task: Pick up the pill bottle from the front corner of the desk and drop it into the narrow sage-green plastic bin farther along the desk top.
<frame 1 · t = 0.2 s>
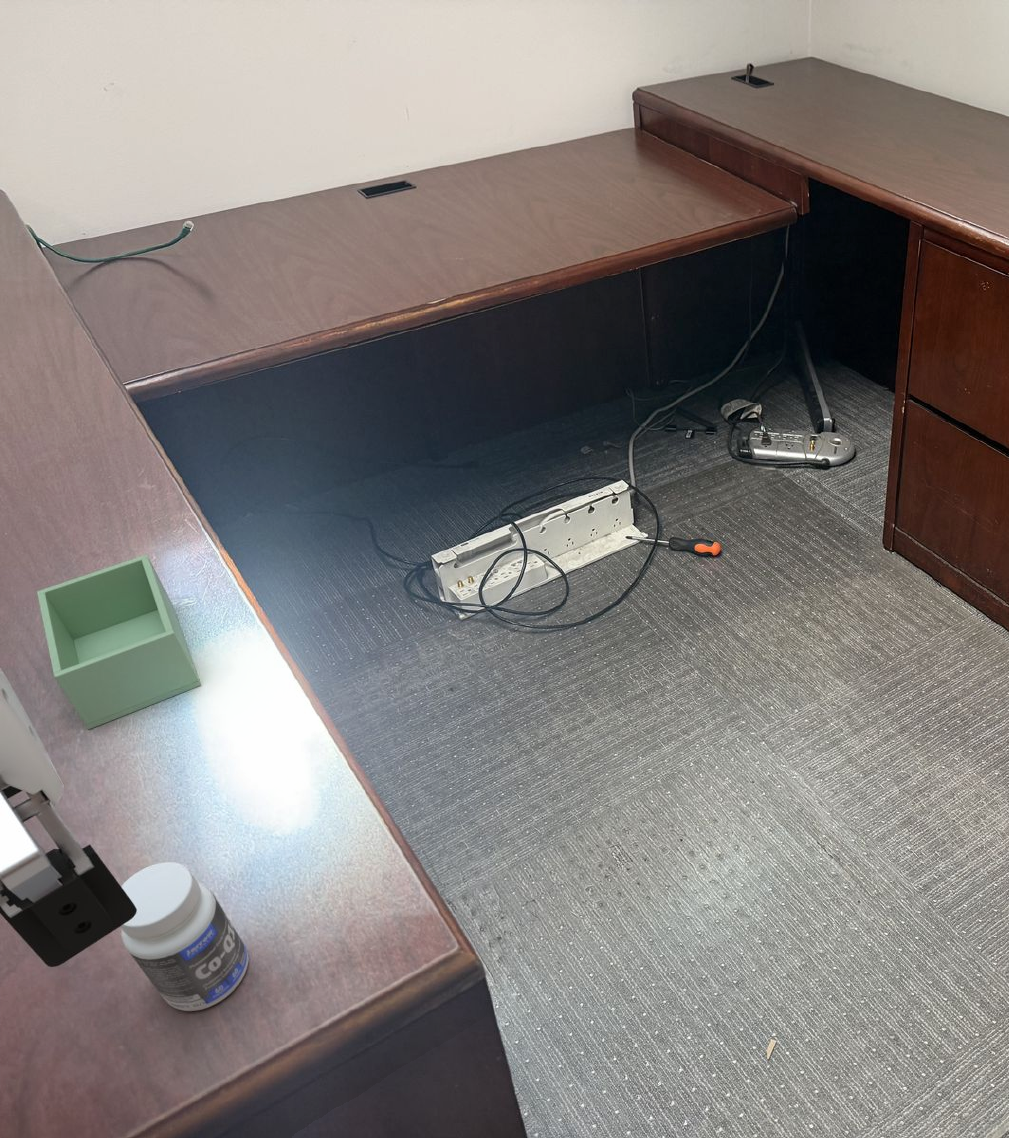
hand: (48, 860, 42), 21 cm above the table, tool pointing down, fingers open, 9 cm apart
bin: (133, 663, 80), on the table
pill bottle: (209, 975, 61), on the table
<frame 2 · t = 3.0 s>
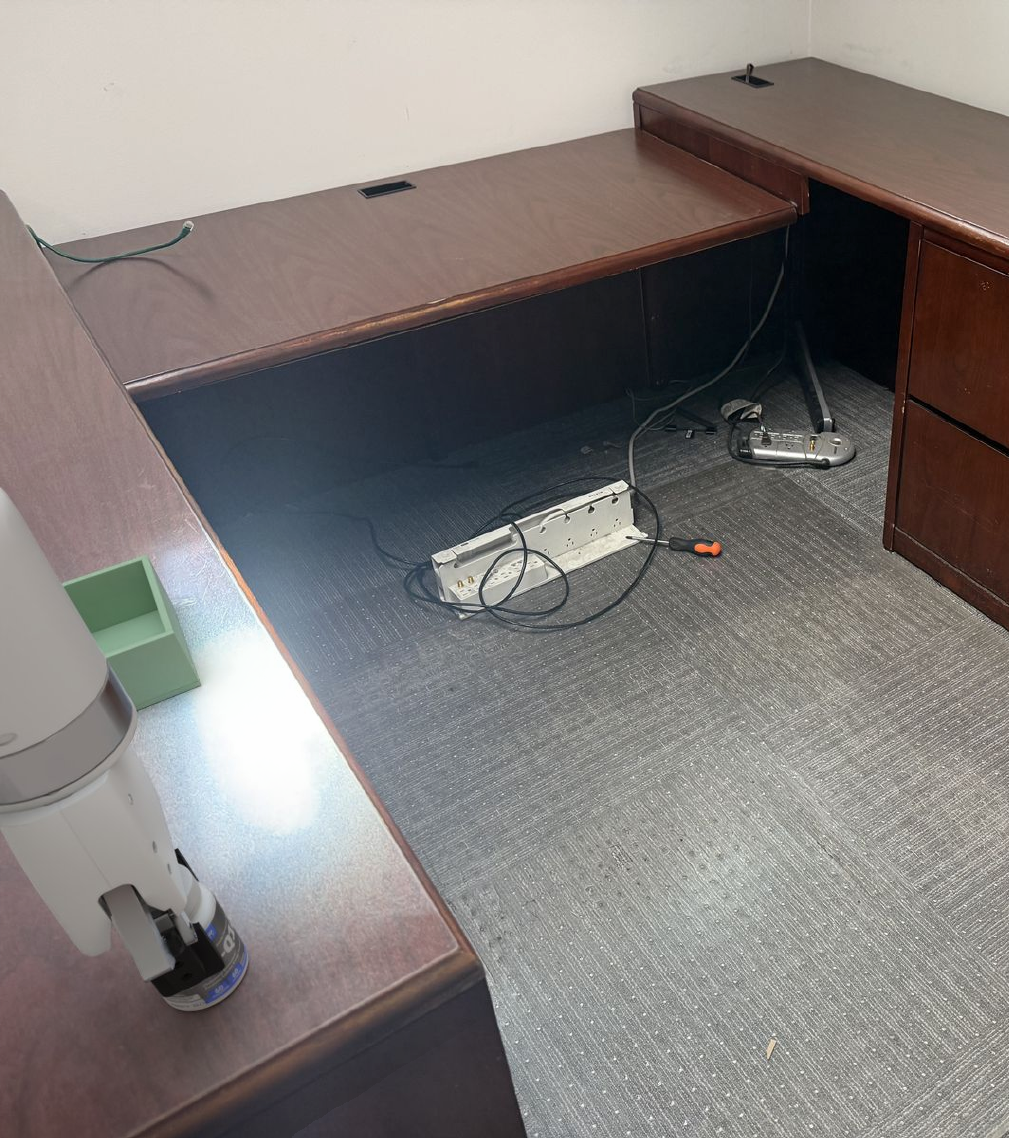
hand: (183, 939, 58), 4 cm above the table, tool pointing down, fingers closed on pill bottle, 4 cm apart
pill bottle: (209, 975, 61), on the table, touching gripper
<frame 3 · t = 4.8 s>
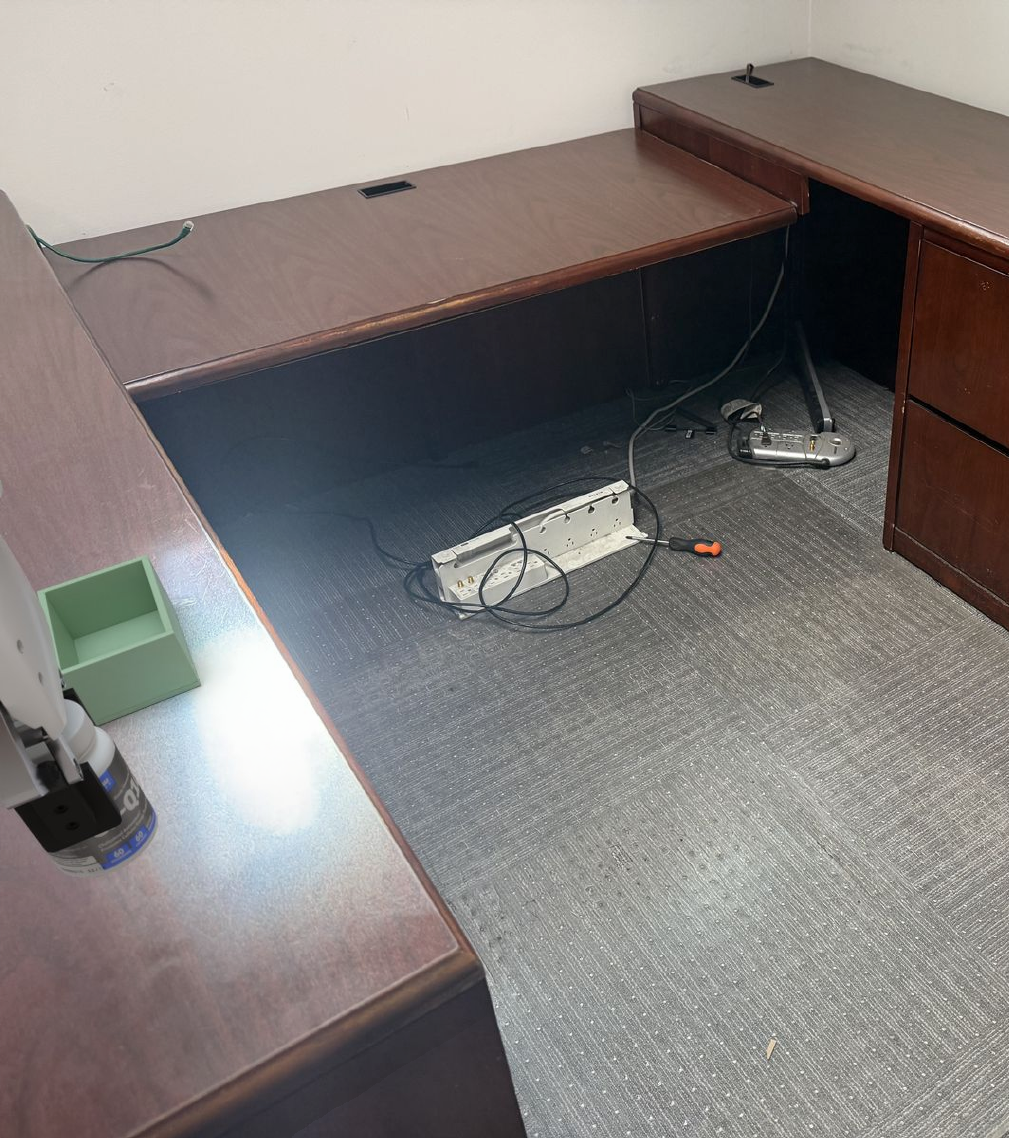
hand: (77, 793, 50), 17 cm above the table, tool pointing down, fingers closed on pill bottle, 4 cm apart
pill bottle: (111, 843, 53), point 13 cm above the table, touching gripper
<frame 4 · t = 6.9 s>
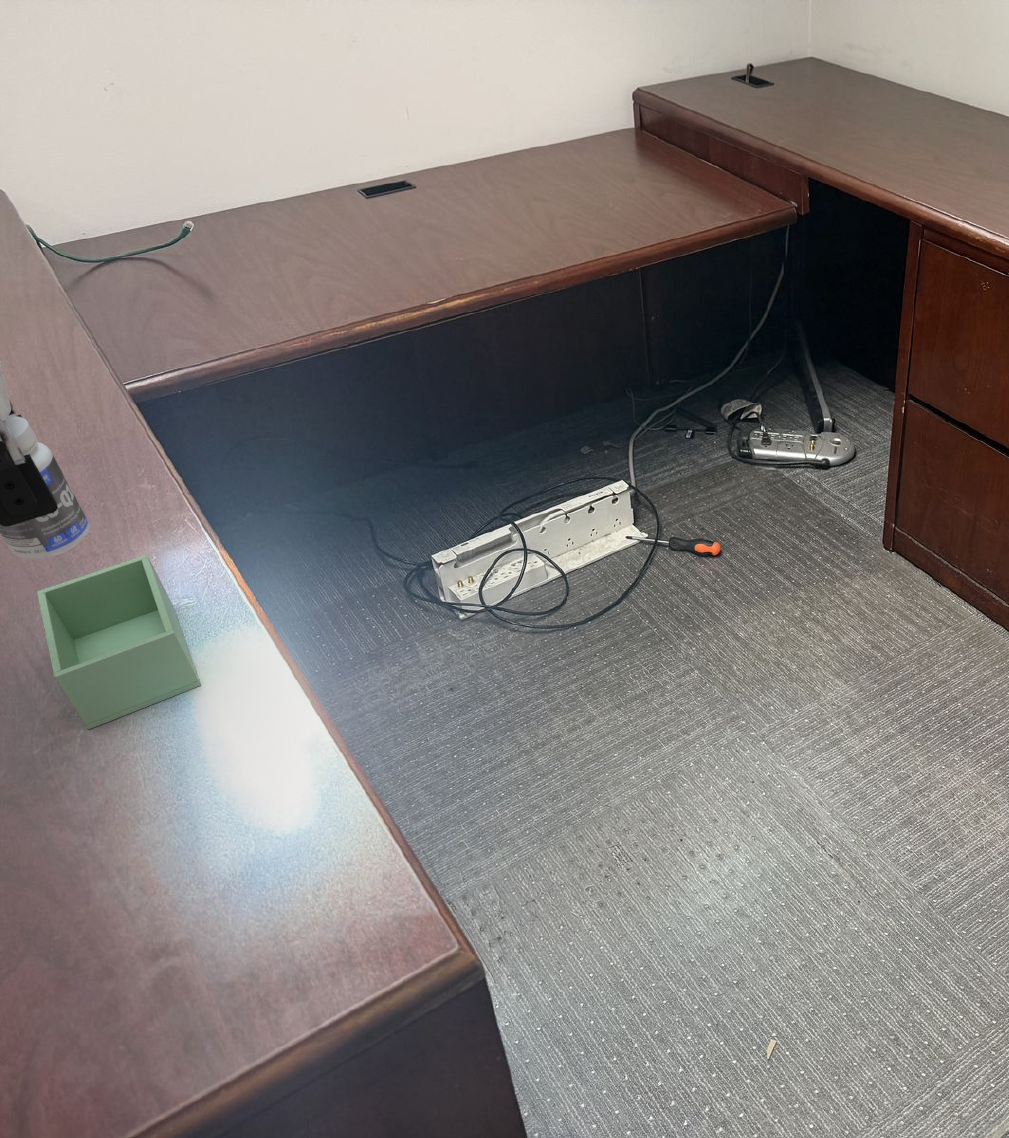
hand: (25, 493, 66), 18 cm above the table, tool pointing down, fingers closed on pill bottle, 4 cm apart
pill bottle: (54, 541, 69), point 14 cm above the table, touching gripper
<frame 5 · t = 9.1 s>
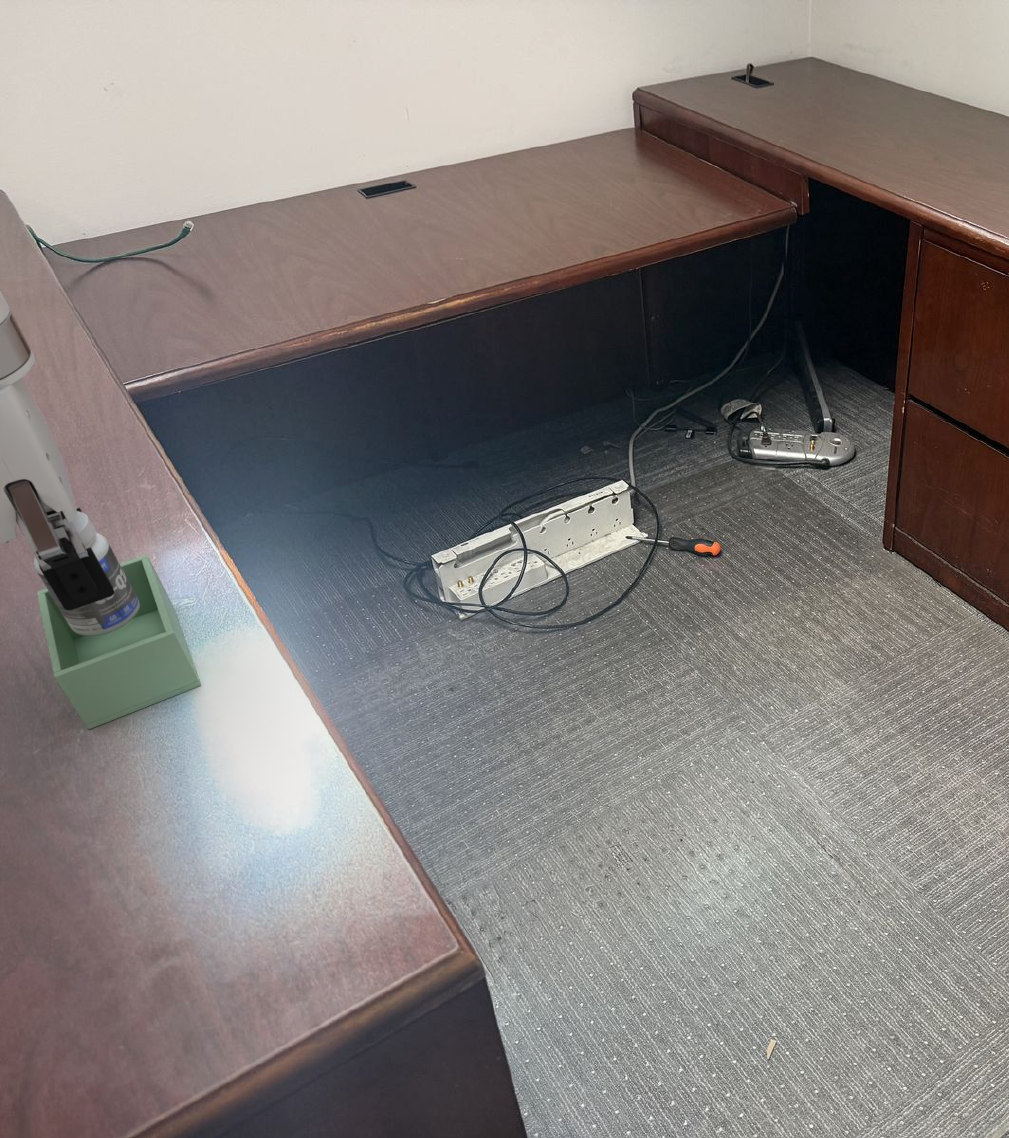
hand: (84, 578, 75), 9 cm above the table, tool pointing down, fingers closed on pill bottle, 4 cm apart
pill bottle: (108, 617, 77), point 5 cm above the table, touching gripper
when the fingers open (5 cm above the table, at t = 11.4 s): pill bottle stays where it is, resting on bin.
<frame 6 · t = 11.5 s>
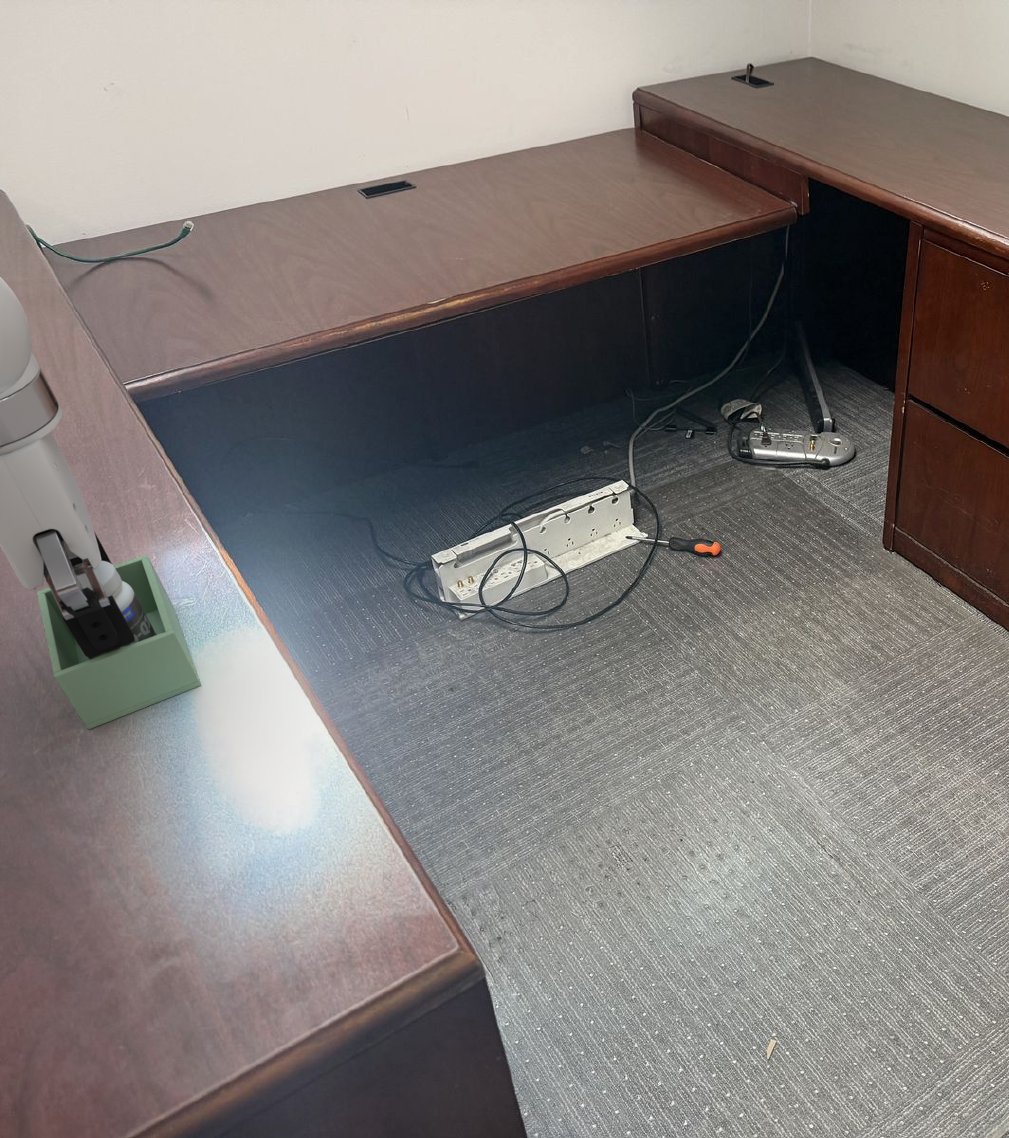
hand: (101, 611, 77), 6 cm above the table, tool pointing down, fingers open, 8 cm apart
pill bottle: (132, 661, 80), resting on bin
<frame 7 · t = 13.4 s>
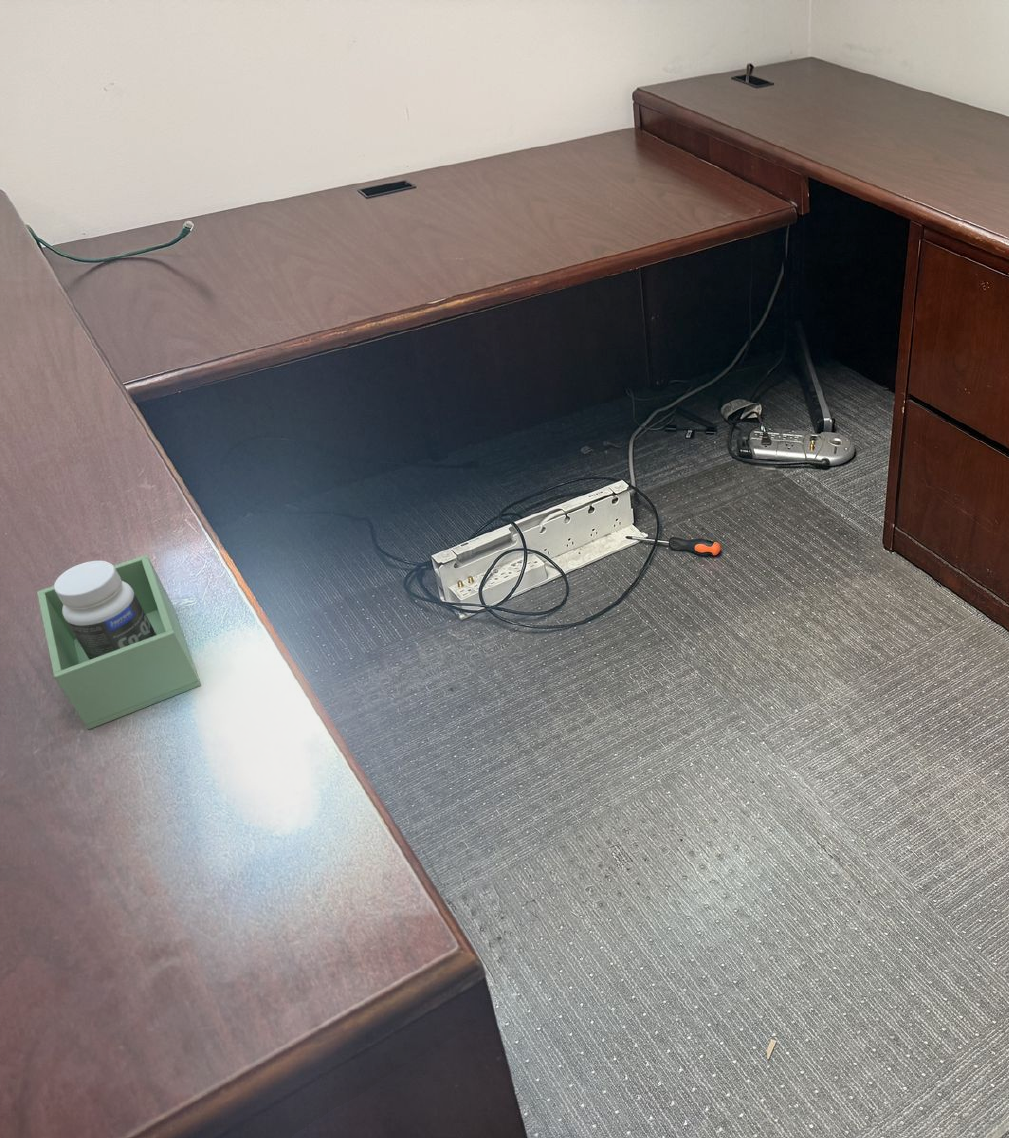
nothing on the table moved.
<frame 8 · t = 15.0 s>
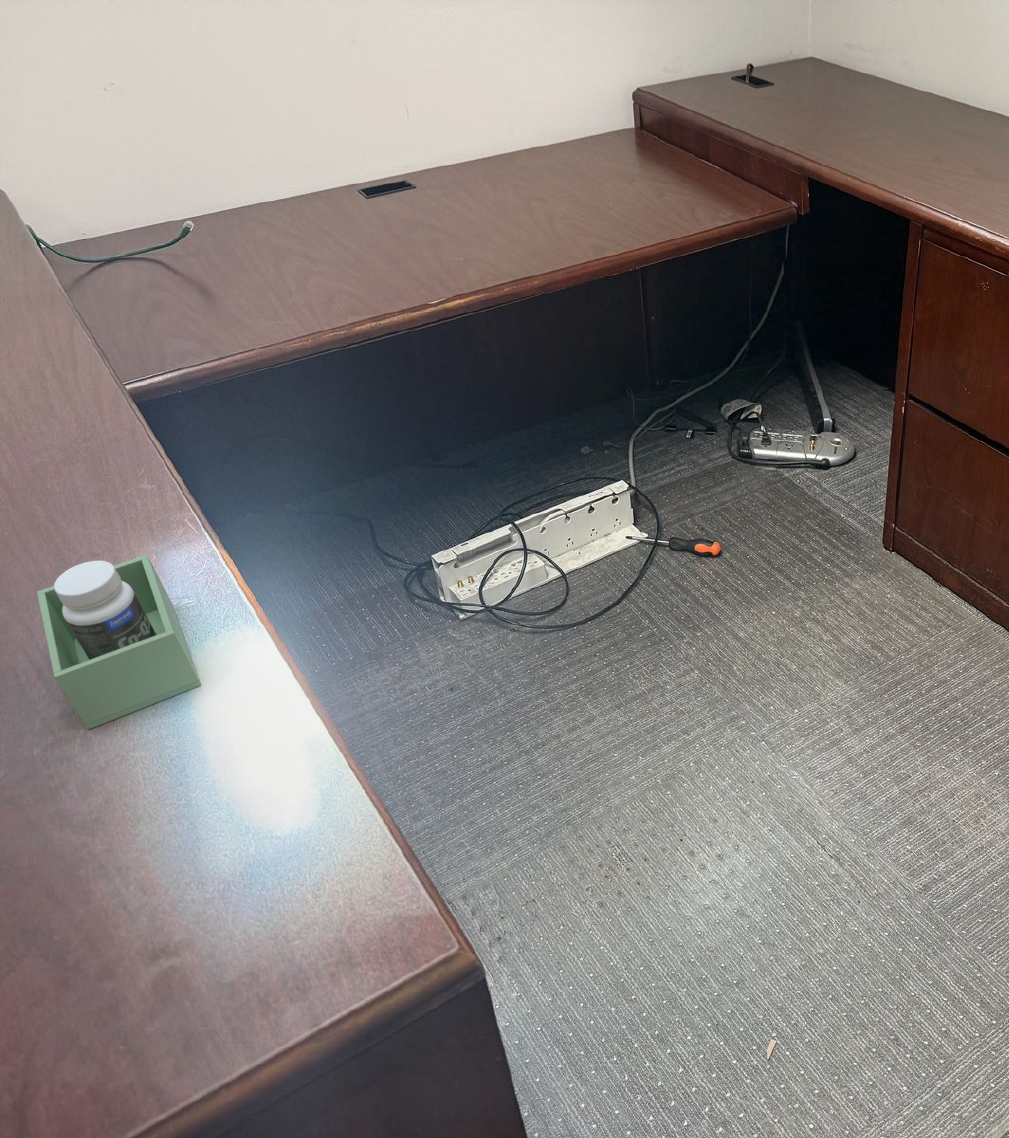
nothing on the table moved.
at the end: pill bottle inside the target area in the bin (0.1 cm from its centre), point 0.3 cm above the bin's base; the gripper is holding nothing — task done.
